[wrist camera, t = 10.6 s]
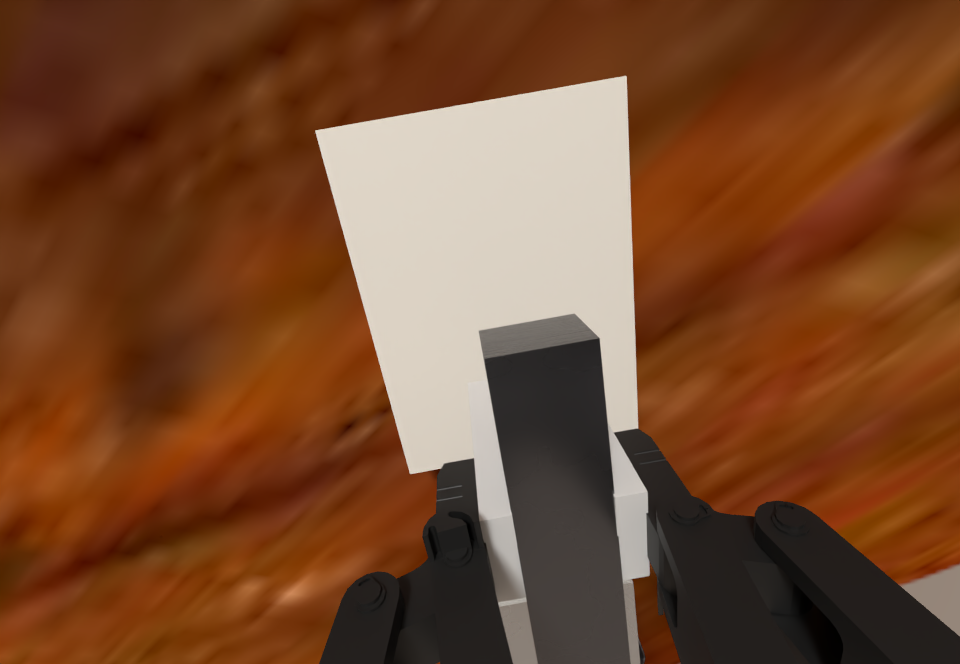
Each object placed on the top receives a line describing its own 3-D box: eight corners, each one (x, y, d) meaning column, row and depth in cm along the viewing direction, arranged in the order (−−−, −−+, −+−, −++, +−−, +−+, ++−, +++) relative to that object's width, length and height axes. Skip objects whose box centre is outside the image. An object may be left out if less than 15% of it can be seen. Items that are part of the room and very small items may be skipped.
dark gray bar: (417, 305, 15) (396, 374, 9) (597, 273, 15) (686, 322, 9) (520, 781, 22) (544, 987, 16) (642, 758, 22) (708, 955, 16)
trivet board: (333, 132, 20) (315, 130, 17) (601, 85, 20) (626, 75, 17) (413, 439, 27) (410, 474, 24) (618, 403, 27) (638, 433, 24)
